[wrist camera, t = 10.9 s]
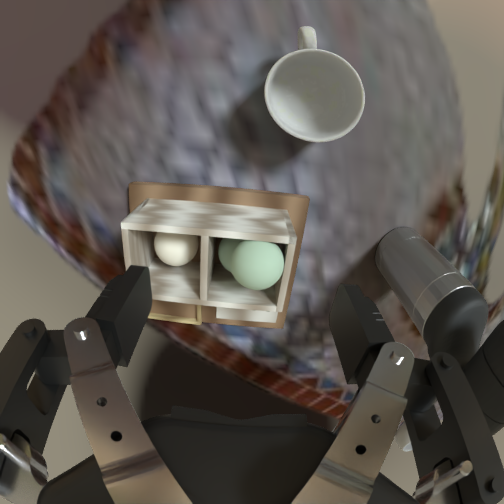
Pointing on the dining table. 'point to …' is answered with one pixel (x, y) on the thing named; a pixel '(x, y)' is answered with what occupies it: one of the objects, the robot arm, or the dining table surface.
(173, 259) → the cream ball
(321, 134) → the teacup
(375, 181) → the dining table surface
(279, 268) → the sage ball
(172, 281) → the sorting board
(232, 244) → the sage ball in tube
